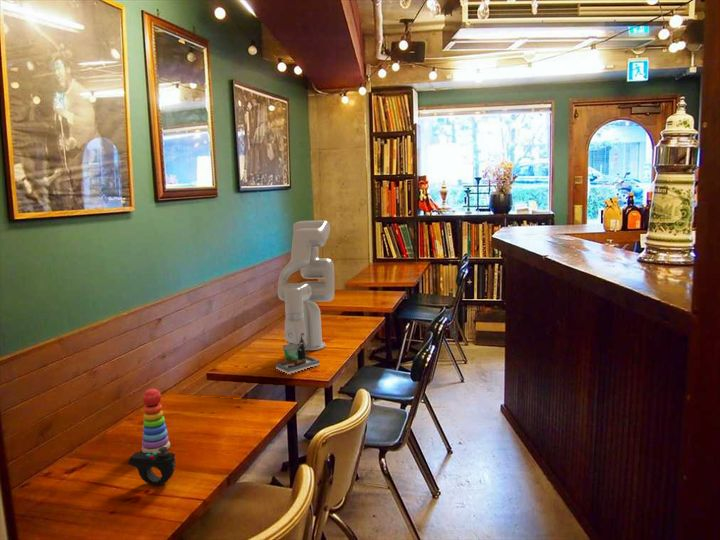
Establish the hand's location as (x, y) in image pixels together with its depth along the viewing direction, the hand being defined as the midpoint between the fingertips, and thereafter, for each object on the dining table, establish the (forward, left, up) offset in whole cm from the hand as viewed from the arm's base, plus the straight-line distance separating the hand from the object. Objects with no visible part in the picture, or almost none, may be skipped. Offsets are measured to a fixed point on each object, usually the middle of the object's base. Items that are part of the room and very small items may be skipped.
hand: (297, 357), depth 231 cm
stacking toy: (+32, -71, -5) cm, 78 cm away
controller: (+51, -78, -5) cm, 93 cm away
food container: (+1, +1, -3) cm, 4 cm away
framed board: (0, 0, -5) cm, 5 cm away
